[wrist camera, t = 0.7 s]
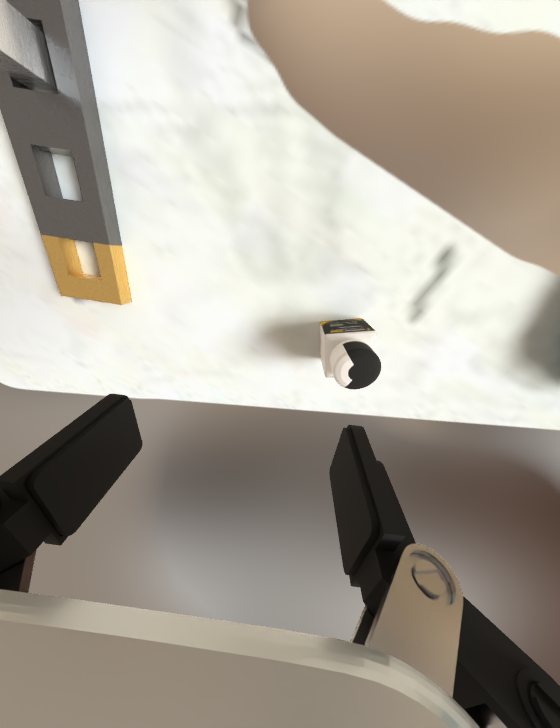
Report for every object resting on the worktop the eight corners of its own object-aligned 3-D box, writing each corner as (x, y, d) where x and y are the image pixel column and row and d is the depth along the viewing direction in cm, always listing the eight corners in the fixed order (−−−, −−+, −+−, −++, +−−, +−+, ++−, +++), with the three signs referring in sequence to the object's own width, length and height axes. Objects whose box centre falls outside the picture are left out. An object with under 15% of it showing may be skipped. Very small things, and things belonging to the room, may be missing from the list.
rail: (-17, -20, 23) (-52, -50, 20) (77, -6, 23) (53, -34, 20) (74, 293, 37) (60, 295, 35) (131, 301, 37) (121, 304, 35)
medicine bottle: (363, 317, 36) (391, 344, 25) (360, 356, 39) (384, 394, 28) (319, 321, 37) (329, 348, 26) (320, 358, 40) (329, 396, 29)
